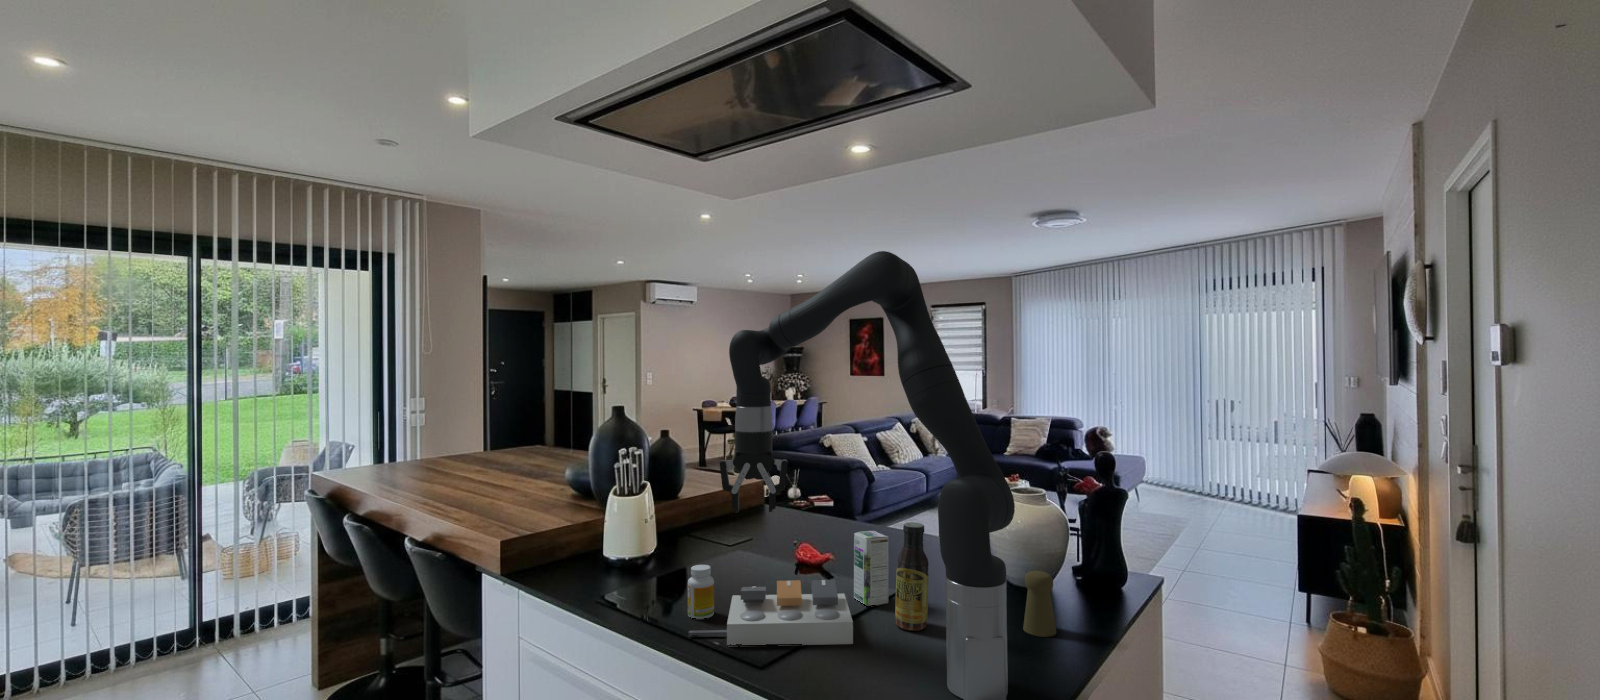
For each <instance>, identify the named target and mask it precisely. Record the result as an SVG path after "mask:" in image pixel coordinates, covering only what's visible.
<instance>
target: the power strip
mask: <svg viewBox="0 0 1600 700" xmlns="http://www.w3.org/2000/svg"><path fill="white" fill-rule="evenodd" d="M801 594H802V605H799V606H777V594H766V599H764V602H761V603H743V600H741V594H740V595H734V594H733V595H732V596H731V601H730V605H729V606H730V608H729V612H728V616H727V617H728V618H727V622H726V629H713V630H712V629H711V630H710V629H709V630H708V629H707V630H705V629H704V630H703V629H702V630H701V629H700V630H689V631H688V637H689V636H692V635H698V636H727V637H726V646H727V645H730V644H731V645H736V644H742V645H766V644H802V645H801V646H806V645H807V646H812V645H813V646H814V645H818V646H820V645H823V646H824V645H826V646H827V645H854V621H853V618H852V614H851V611H850V608H849V603H848V601H847V597H846V594H845V593H837V595H838V605H813V599H812V593H809V594H808V593H801Z"/></svg>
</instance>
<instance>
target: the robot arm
mask: <svg viewBox="0 0 1600 700" xmlns="http://www.w3.org/2000/svg"><path fill="white" fill-rule="evenodd" d="M868 302H873V303H876V304H877V305H879V306H880V307H881V309H882V310H883V312H884V313H885V316H886V318H887V320H888V321H889V324H890V327H891V329H892V331H893V334H894V337H895V340H896V345H897V346H896V347H897V368H898V375H899V379H900V382H901V386H902V387H903V390H904V393H905V396H906V398H907V401H908V403H909V406H910V408H911V410H912V412H913V414H914V415H915V417H916V418H917V419H918V421H919V422H920V423H921V424H922V426H923V427H924V428H926V430H927V431H928V432H929V433H930V434H931V435H932V436H933V437H934V438H935V439H936V440H937V441H938V443H939V444H941V446H942V447H943V449H944V450H945V451H946V453H947V455H948V456H949V458H950V460H951V461H952V464H953V467H954V469H955V471H956V474H957V476H958V477H956V478H953V479H951V480H948V481H947V482H946V483H945V484H944V485H943V486H942V489H941V490H940V493H939V498H938V503H937V505H938V506H937V515H938V516H937V517H938V518H937V520H938V534H939V549H940V550H939V551H940V555H941V559H942V561H943V564H944V567H945V614H946V615H945V620H946V622H945V625H946V627H945V628H946V629H945V632H946V634H945V635H946V636H945V637H946V686H947V689H948V691H949V692H950V693H952V694H953V695H955V696H956V697H958V698H960V699H961V700H962V699H963V700H1007V696H1008V692H1009V690H1008V689H1009V688H1008V687H1009V685H1008V684H1009V679H1008V676H1009V675H1008V674H1009V673H1008V672H1009V671H1008V631H1007V630H1008V627H1007V626H1008V622H1007V619H1008V618H1007V611H1008V610H1007V567H1006V564H1005V561H1004V560H1002V558H1000V557H998V556H996V555H992V551H991V540H990V539H991V538H990V537H991V535H990V533H994V532H998V531H1000V530H1003V529H1005V528H1006V527H1009V525H1011V523H1012V521H1013V519H1014V515H1015V509H1016V507H1015V506H1016V505H1015V499H1014V496H1013V495H1014V494H1013V493H1012V490H1011V487H1010V485H1009V483H1008V481H1007V479H1006V477H1005V476H1004V473H1003V472H1002V470H1001V468H1000V466H999V465H998V463H997V461H996V459H995V457H994V455H993V454H992V451H990V448H989V446H988V444H987V442H986V440H985V438H984V436H983V435H982V432H981V429H980V427H979V425H978V423H977V421H976V418H975V416H974V414H973V412H972V409H971V407H970V405H969V402H968V400H967V398H966V395H965V392H964V390H963V387H962V385H961V382H960V380H959V377H958V375H957V372H956V370H955V368H954V365H953V363H952V361H951V359H950V357H949V355H948V353H947V350H946V349H945V346H944V343H943V342H942V339H941V338H940V335H939V333H938V331H937V329H936V328H935V325H934V323H933V321H932V318H931V316H930V313H929V310H928V306H927V303H926V300H925V297H924V293H923V289H922V285H921V282H920V279H919V277H918V273H917V272H916V270H915V269H914V268H913V266H912V265H911V264H909V262H907V261H905V260H904V259H902V257H900V256H898V255H897V254H895V253H892V252H891V251H886V250H879V251H877V252H876V251H875V252H872V253H870V254H869V255H867V257H865V258H863V259H862V260H861V261H859V262H858V263H856V264H855V265H854V266H852V267H851V268H850V269H849V270H847V271H846V272H845V273H844V274H842V275H841V276H840V277H838V278H837V279H836V280H834V281H832V282H831V283H830V284H829V285H827V286H826V287H825V288H823V289H822V290H820V291H818V292H817V293H815V294H814V295H813V296H811V297H810V298H808V299H807V300H804V301H802V302H801V303H799V304H797V305H795V306H793V307H790V308H789V309H788V310H786V311H783V312H782V313H780V314H778V315H776V316H775V317H774V318H772V320H771V321H770V322H769V326H768V327H765V328H763V329H761V330H752V329H741V330H738V331H737V332H735V333H734V335H733V336H732V338H731V340H730V343H729V349H728V351H729V352H728V353H729V354H728V355H729V362H730V366H731V370H732V374H733V377H734V378H733V379H734V382H735V385H736V390H735V391H736V392H735V393H736V398H735V399H736V402H735V404H736V406H735V407H736V410H735V416H734V421H735V423H734V431H735V432H734V437H735V438H734V440H735V441H734V445H735V447H734V448H735V449H734V453H735V454H734V457H733V459H727V460H726V459H722V460H720V462H719V470H720V471H719V472H720V478H721V488H722V490H723V491H724V492H729V493H730V494H731V509H732V510H734V513H739V512H740V492H739V490H740V487H741V486H742V483H743V482H744V480H746V481H747V480H753V479H756V480H762V479H763V481H764V483H765V485H766V486H767V489H768V490H769V492H768V513H773V510H776V506H777V505H776V504H777V502H776V501H777V493H778V492H781V491H784V490H785V488H786V481H787V480H786V479H787V471H788V460H787V459H785V458H784V459H779V458H775V456H774V455H773V414H772V412H773V411H772V389H771V388H772V387H771V385H772V384H771V382H770V379H768V378H767V377H764V376H763V374H762V370H761V366H763V365H766V364H769V363H771V362H774V361H776V360H777V359H779V358H780V357H781V356H783V355H784V354H786V353H787V352H788V351H789V350H791V349H792V348H794V347H796V346H799V345H801V344H803V343H805V342H806V341H808V340H811V339H813V338H815V337H816V336H818V335H819V334H821V333H822V332H823V331H825V330H826V329H827V328H829V326H830V325H831V324H832V323H833V322H834V320H835V319H837V318H838V317H839V316H841V314H843V313H844V312H846V311H847V310H849V309H851V308H853V307H856V306H859V305H861V304H864V303H868ZM774 465H775V466H776V469H777V470H778V471H780V472H779V481H778V483H777V484H775V482H774V481H773V479H772V477H771V475H770V473H769V472H770V471H771V469H772V468H773V467H774ZM732 466H734V468H735V469H736V470H737V472H738V476H737V478H736V480H735V481H734V484H731V483H730V481H729V473H728V472H730V471H731V467H732Z"/></svg>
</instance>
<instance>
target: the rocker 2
mask: <svg viewBox="0 0 1600 700" xmlns="http://www.w3.org/2000/svg"><path fill="white" fill-rule="evenodd" d="M802 594H803V593H802V583H801V579H800V580H799V579H797V580H795V579H794V580H793V579H792V580H776V595H777V606H799V605H802Z"/></svg>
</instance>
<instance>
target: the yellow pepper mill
mask: <svg viewBox="0 0 1600 700" xmlns="http://www.w3.org/2000/svg"><path fill="white" fill-rule="evenodd" d="M1024 584H1025V587H1026V589H1027V593H1026V602H1025V608H1024V609H1025V610H1024V611H1025V612H1024V619H1023V625H1022V626H1023V627H1022V629H1023V630H1022V631H1024V632H1025V633H1026V634H1029V635H1031V636H1035V637H1036V636H1037V637H1042V638H1043V637H1045V638H1048V637H1053V636H1056V634H1057V628H1056V627H1057V626H1056V621H1055V620H1056V619H1055V614H1054V606H1053V600H1052V593H1051V592H1052V590H1053V589H1054V579H1053V577H1052V575H1051V574H1049V573H1048V572H1045V571H1041V570H1030V571H1028V572H1026V574H1025V576H1024Z"/></svg>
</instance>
